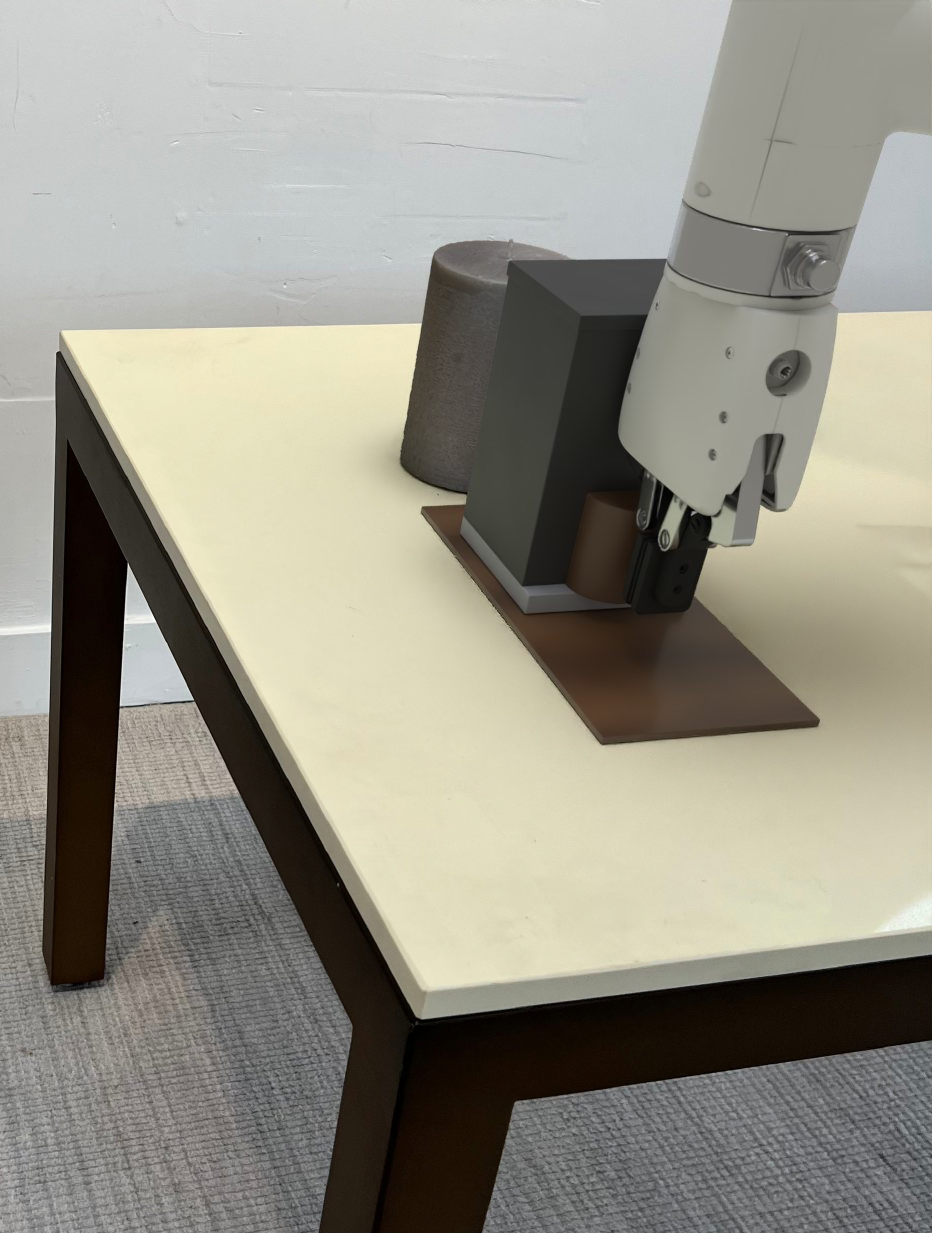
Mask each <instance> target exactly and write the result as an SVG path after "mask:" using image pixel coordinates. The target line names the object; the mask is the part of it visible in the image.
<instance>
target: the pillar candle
mask: <svg viewBox="0 0 932 1233" xmlns="http://www.w3.org/2000/svg"><path fill="white" fill-rule="evenodd" d="M510 260H577V259H576V258H573V257H569V256H567V255H566V254H563V253H560V252H557V251H554V250H551V249H547V248H545V247H541V246H536V245H531V244H527V243H522V242H515V241H514V238H509V240H508V241H506V240H505V241H504V240H488V239H486V240H485V239H484V240H483V239H482V240H481V239H480V240H464V241H457V242H450V243H447V244H444V245H441V246H440V247H438V248H437V249H436V250H434V252H433V255H432V258H431V263H430V267H429V268H430V269H429V276H428V281H427V288H426V293H425V301H424V307H423V313H422V321H421V326H420V332H419V338H418V345H417V350H416V355H415V356H416V358H415V363H414V364H415V365H414V370H413V375H412V380H411V381H412V382H411V386H410V388H411V389H410V391H409V398H408V399H409V400H408V405H407V413H406V420H405V422H404V428H403V432H402V433H403V434H402V435H403V437H402V442H401V446H400V448H401V449H400V450H399V452H400V457H399V460H400V462H401V464H402V466H403V467H404V468H405V469H406V470H407V471H408V472H409V473H411V475H413V476H415V477H418V479H420V480H421V481H424V482H426V483H429V484H431V485H434V486H438V487H441V488H445V489H448V490H452V491H457V492H461V493H468V489H469V483H470V478H471V473H472V468H473V462H474V457H475V452H476V446H477V441H478V436H479V431H480V425H481V420H482V415H483V409H484V404H485V399H486V393H487V388H488V383H489V378H490V372H491V367H492V362H493V356H494V351H495V346H496V341H497V335H498V330H499V325H500V319H501V314H502V309H503V303H504V298H505V293H506V288H507V282H508V277H509V276H507V275H506V273H507V268H508V263H509V261H510Z"/></svg>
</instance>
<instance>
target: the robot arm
mask: <svg viewBox="0 0 932 1233" xmlns="http://www.w3.org/2000/svg"><path fill="white" fill-rule="evenodd" d="M716 59H717V60H716V63H715V67H714V71H713V75H712V78H711V83H710V85H709V91H708V94H707V98H706V103H705V106H704V110H703V114H702V118H701V122H700V126H699V129H698V133H697V138H696V142H695V146H694V150H693V154H692V157H691V160H690V161H691V162H690V164H689V165H690V166H689V169H688V174H687V178H686V181H685V185H684V190H683V194H682V198H681V202H680V206H679V209H678V213H677V217H676V222H675V226H674V230H673V233H672V238H671V242H670V246H669V250H668V253H667V258H666V259H667V261H666V264H665V268H664V275H663V277H662V280H661V282H660V285H659V287H658V290H657V292H656V295H655V297H654V300H653V303H652V305H651V308H650V311H649V314H648V317H647V319H646V322H645V325H644V328H643V332H642V335H641V338H640V341H639V344H638V347H637V351H636V354H635V357H634V360H633V364H632V367H631V371H630V374H629V378H628V382H627V386H626V389H625V394H624V398H623V403H622V408H621V413H620V419H619V426H618V435H619V438H620V441H621V443H622V445H623V446H624V448H625V449H626V450H627V451H628V453H627V460H628V462H629V463H630V465H631V467H632V468H633V470H634V471H635V473H636V475H637V476H638V478H639V483H640V489H641V492H640V497H639V503H638V509H637V514H636V523H637V526H638V528H639V529H640V530H645V532H644V533H638V537H637V540H636V544H635V548H634V551H633V555H632V559H631V562H630V566H629V570H628V574H627V577H626V581H625V585H624V588H623V592H622V598H623V600H624V601H625V602H626V603H627V604H629V605H631V608H632V609H633V610H634V611H635V612H636V613H637V614H638V615H647V614H662V613H677V612H685V611H687V610H688V609H689V608H690V606H691V604H692V600H693V597H694V596H695V595H696V594H695V593H696V591H697V587H698V584H699V582H700V581H699V580H700V577H701V574H702V571H703V569H704V568H703V567H704V564H705V561H706V557H707V555H708V551H709V550H712V549H715V548H717V547H718V546H721V547H724V548H741V547H751V546H752V545H753V544H754V543H755V540H756V535H757V529H758V522H759V516H760V510H761V506H762V508H765V509H766V510H768V511H770V512H773V513H784V512H787V511H789V510H790V508H791V507H792V506H793V505H794V502H795V501H796V498H797V495H798V493H799V491H800V488H801V485H802V482H803V479H804V475H805V472H806V469H807V466H808V462H809V459H810V456H811V452H812V448H813V445H814V441H815V437H816V434H817V430H818V427H819V423H820V419H821V414H822V412H823V406H824V403H825V398H826V395H827V394H826V393H827V389H828V384H829V380H830V375H831V370H832V365H833V360H834V359H833V358H834V352H835V351H834V350H835V346H836V345H835V344H836V338H837V328H838V317H839V308H838V307H836V306H835V305H834V304H833V303H832V302H833V300H834V297H835V295H836V291H837V289H838V285H839V282H840V279H841V276H842V274H843V270H844V267H845V264H846V260H847V257H848V254H849V251H850V248H851V245H852V242H853V239H854V235H855V233H856V230H857V227H858V223H859V221H860V218H861V215H862V212H863V209H864V206H865V203H866V200H867V196H868V194H869V190H870V187H871V185H872V181H873V178H874V175H875V172H876V170H877V166H878V163H879V159H880V157H881V153H882V151H883V147H884V144H885V141H886V139H887V138H888V137H889V136H891V135H893V134H894V133H910V134H918V135H925V136H931V137H932V0H731V4H730V7H729V11H728V16H727V20H726V24H725V27H724V31H723V36H722V39H721V43H720V46H719V51H718V55H717V58H716ZM697 512H699V513H697Z"/></svg>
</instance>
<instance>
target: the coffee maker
mask: <svg viewBox="0 0 932 1233" xmlns="http://www.w3.org/2000/svg"><path fill="white" fill-rule="evenodd" d="M666 261H667V258H612V259H611V258H602V259H601V258H599V259H597V258H596V259H595V258H594V259H593V258H592V259H576V260H510V261H509V263H508V268H507V273H506V275H507V276H509V277H508V282H507V288H506V293H505V298H504V303H503V309H502V314H501V319H500V325H499V330H498V335H497V341H496V346H495V351H494V356H493V362H492V367H491V372H490V378H489V383H488V388H487V393H486V399H485V404H484V409H483V415H482V420H481V425H480V431H479V436H478V441H477V446H476V452H475V457H474V462H473V468H472V473H471V478H470V483H469V489H468V492H467V494H466V498H465V499H466V500H465V504H466V505H465V510H464V516H463V520H462V525H461V531H460V534H461V535H462V536H463V538H464V539H465V540H466V541H467V543H468V544H469V545H470V546H471V547H472V549H473V550H474V551H475V552H476V554H477V555H478V556H479V557H480V559H481V560H482V561H483V562H484V564H485V565H486V566H487V567H488V569H489V570H490V571H491V572H492V574H493V575H494V576H495V577H496V578H497V580H498V581H499V582H500V583H501V585H502V586H503V587H504V588H505V590H506V591H507V592H508V593H509V595H510V596H511V597H512V598H513V600H514V601H515V602H516V603H517V605H518V606H519V607H520V608H521V609H522V611H523V612H524V613H525V614H530V613H546V612H562V611H577V610H593V609H609V608H625V607H631V605H629V604H627V603H626V602H625V601H624V600H623V598H622V592H623V588H624V585H625V581H626V577H627V574H628V570H629V566H630V562H631V559H632V555H633V551H634V548H635V544H636V540H637V537H638V533H644V532H645V530H640V529H639V528H638V526H637V523H636V514H637V509H638V503H639V497H640V492H641V489H640V483H639V478H638V476H637V475H636V473H635V471H634V470H633V468H632V467H631V465H630V463H629V462H628V460H627V453H628V451H627V450H626V449H625V448H624V446H623V445H622V443H621V441H620V438H619V435H618V426H619V419H620V413H621V408H622V403H623V398H624V394H625V389H626V386H627V382H628V378H629V374H630V371H631V367H632V364H633V360H634V357H635V354H636V351H637V347H638V344H639V341H640V338H641V335H642V332H643V328H644V325H645V322H646V319H647V317H648V314H649V311H650V308H651V305H652V303H653V300H654V297H655V295H656V292H657V290H658V287H659V285H660V282H661V280H662V277H663V275H664V268H665V264H666ZM697 513H699V512H697Z"/></svg>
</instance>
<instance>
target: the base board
mask: <svg viewBox="0 0 932 1233" xmlns="http://www.w3.org/2000/svg"><path fill="white" fill-rule="evenodd" d="M465 505H466V503H465V504H463V503H462V504H444V505H441V504H440V505H422V506H421V508H420V513H421V514H422V515H423V517H424V518H425V519H426V520H427V522H428V523H429V524H430V526H431V527H432V528H433V529H434V531H435V532H436V533H437V535H438V536H439V538H441V540H442V541H443V542H444V544H446V546H447V547H448V549H449V550H450V551H451V553H452V554H453V555H454V556H455V558H456V559H457V560H458V561H459V563H460V564H461V565H462V568H464V569H465V571H466V572H467V573H468V574H469V576H470V577H471V579H473V581H474V582H475V584H476V585H477V586H478V587H479V589H480V590H481V591H482V592H483V593H484V595H485V596H486V598H487V599H488V600H489V601H490V603H491V604H492V605H493V607H495V609H496V610H497V612H498V613H499V614H500V615H501V617H502V618H503V620H504V621H505V622H506V623H507V624H508V626H509V627H510V628H511V630H512V631H513V632H514V634H515V635H516V636H517V637H518V639H519V640H520V641H521V642H522V644H523V645H524V646H525V647H526V649H527V650H528V652H529V653H530V654H531V655H532V657H533V658H534V659H535V660H536V662H537V663H538V664H539V666H540V667H541V668H542V670H543V671H544V672H545V673H546V675H547V676H548V677H549V679H550V680H551V681H552V682H553V684H554V685H555V686H556V687H557V689H558V690H559V691H560V692H561V694H562V696H564V698H565V699H566V700H567V702H568V703H569V704H570V705H571V707H572V708H573V709H574V710H575V712H576V713H577V715H579V717H580V718H581V719H582V721H583V722H584V723H585V725H586V726H587V727H588V728H589V730H590V731H591V732H592V734H593V735H594V736H595V737H596V739H597V740H598V741H599V742H600V744H601V745H606V744H617V743H629V742H641V741H643V742H644V741H654V740H666V739H676V738H677V739H678V738H689V737H701V736H713V735H725V734H726V735H727V734H736V733H737V734H738V733H749V732H751V733H752V732H763V731H776V730H786V729H797V728H799V729H800V728H809V727H810V728H811V727H819V725H820V723H821V719H820V717H818V716H817V715H816V713H814V712H813V711H812V710H811V709H810V708H809V706H808V705H806V704H805V703H804V702H803V701H802V700H801V699H800V698H799V697H798V696H797V695H796V694H795V693H794V692H793V691H792V690H791V689H790V688H789V687H788V686H787V685H786V684H785V683H784V682H783V681H782V680H781V679H780V678H779V677H778V676H777V675H775V673H774V672H772V670H770V668H768V667H767V666H766V664H764V663H763V662H762V661H761V660H760V659H759V658H758V657H757V656H756V655H755V654H754V652H752V651H751V650H750V649H749V648H748V647H747V646H746V645H745V644H744V643H743V642H742V641H741V640H740V639H739V638H738V637H737V636H736V635H735V634H734V633H733V632H732V631H730V630H729V628H728V627H727V626H726V625H725V624H724V623H722V621H721V620H719V619H718V618H717V617H716V616H715V615H714V613H712V612H711V611H710V610H709V609H708V607H706V606H705V605H704V604H703V603H702V602H701V601H700V600H699V599H698V598H697V597H696V596H695V595H694V597H693V600H692V604H691V606H690V608H689V609H688V610H687V611H685V612H677V613H662V614H647V615H638V614H637V613H636V612H635V611H634V610H633V609H632V608H631V607H625V608H609V609H593V610H577V611H562V612H546V613H530V614H525V613H524V612H523V611H522V609H521V608H520V607H519V606H518V605H517V603H516V602H515V601H514V600H513V598H512V597H511V596H510V595H509V593H508V592H507V591H506V590H505V588H504V587H503V586H502V585H501V583H500V582H499V581H498V580H497V578H496V577H495V576H494V575H493V574H492V572H491V571H490V570H489V569H488V567H487V566H486V565H485V564H484V562H483V561H482V560H481V559H480V557H479V556H478V555H477V554H476V552H475V551H474V550H473V549H472V547H471V546H470V545H469V544H468V543H467V541H466V540H465V539H464V538H463V536H462V535H461V534H460V531H461V525H462V520H463V516H464V510H465Z"/></svg>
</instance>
